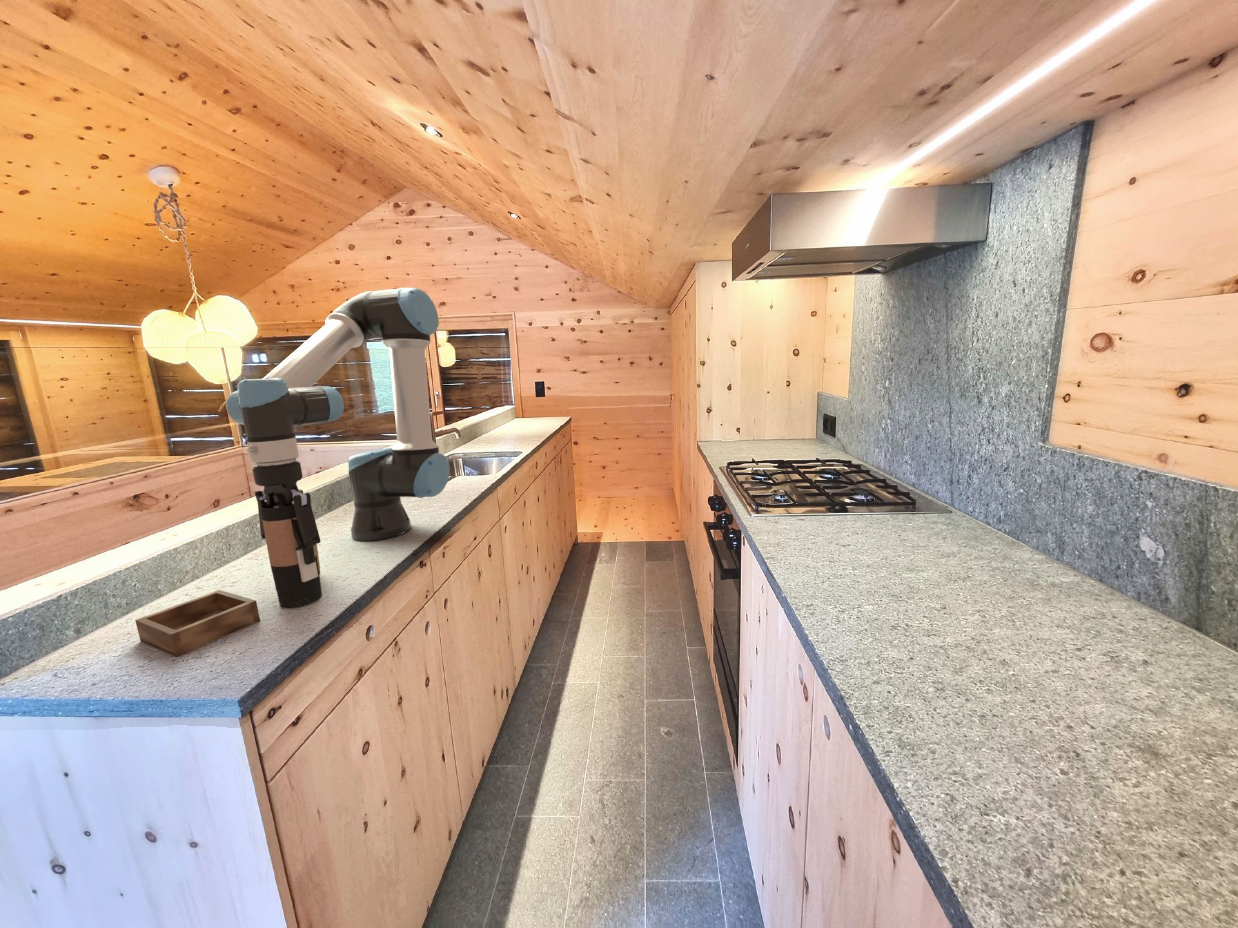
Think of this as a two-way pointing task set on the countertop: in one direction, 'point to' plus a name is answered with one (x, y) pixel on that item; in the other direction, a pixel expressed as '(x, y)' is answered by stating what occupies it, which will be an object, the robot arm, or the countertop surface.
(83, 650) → the countertop surface
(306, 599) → the travel mug
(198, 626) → the rectangular wooden tray
